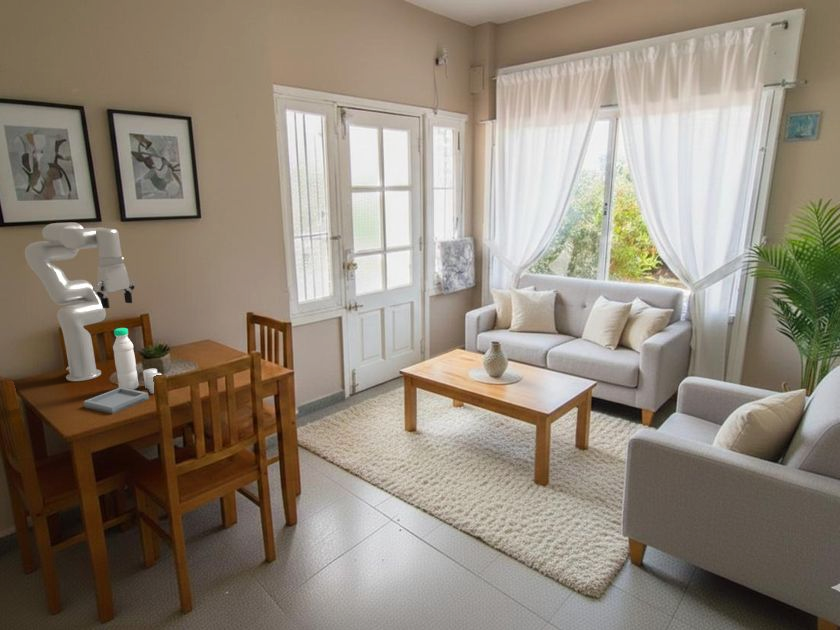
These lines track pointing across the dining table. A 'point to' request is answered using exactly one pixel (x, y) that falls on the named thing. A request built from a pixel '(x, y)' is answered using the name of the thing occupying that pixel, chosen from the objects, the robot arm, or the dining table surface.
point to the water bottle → (125, 360)
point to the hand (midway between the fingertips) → (117, 305)
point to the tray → (116, 400)
